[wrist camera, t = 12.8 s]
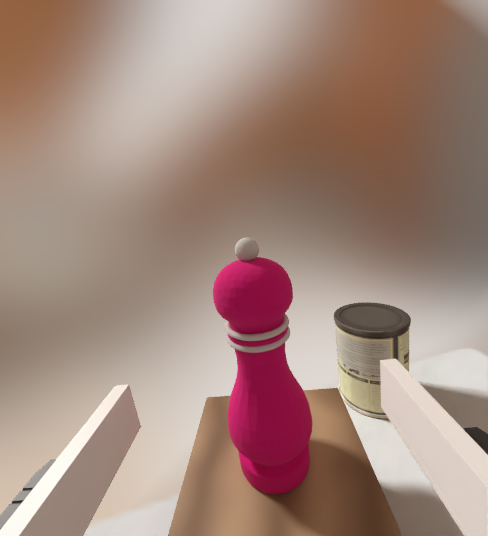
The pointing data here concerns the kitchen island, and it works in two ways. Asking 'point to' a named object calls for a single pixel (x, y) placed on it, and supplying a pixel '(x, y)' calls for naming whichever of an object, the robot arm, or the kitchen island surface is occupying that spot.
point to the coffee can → (368, 351)
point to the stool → (290, 503)
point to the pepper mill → (263, 373)
